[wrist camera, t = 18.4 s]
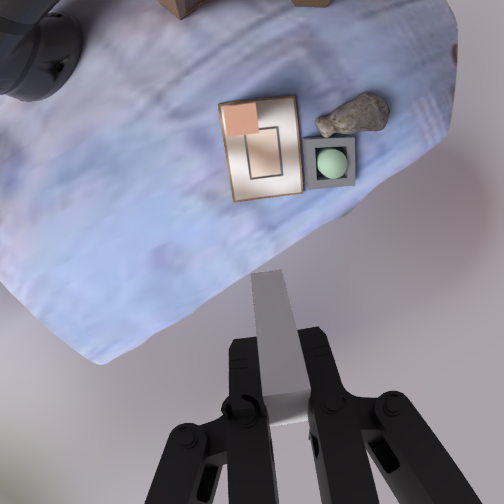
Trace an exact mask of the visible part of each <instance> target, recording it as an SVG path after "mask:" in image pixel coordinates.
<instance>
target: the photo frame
mask: <svg viewBox="0 0 504 504" xmlns="http://www.w3.org/2000/svg"><path fill="white" fill-rule="evenodd" d="M158 1H159V3H160V4H161V5H163V6H164V7H165V8H166V9H168V10H169V11H170V12H171V13H172V14H174V15H175V16H176V17H177V18H178V19H179V20H181V19H182V18H184V17H185V16H186V15H188V14H189V13H190V12H192V11H193V10H194V9H196V8H197V7H198V6H200V5H201V4H203V3H204V2H205V1H207V0H158ZM291 1H292V2H293V4H294V5H295V6H298V7H325V8H326V7H327V5H328V4H329V2H330V1H331V0H291Z"/></svg>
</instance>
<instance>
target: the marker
mask: <svg viewBox="0 0 504 504" xmlns="http://www.w3.org/2000/svg"><path fill="white" fill-rule="evenodd" d="M223 111H224V118H225V124H226V131H227V137H233V136H240V135H247V134H255V133H259V126H258V118H257V111H256V103H249V104H241V105H233V106H227V107H223Z"/></svg>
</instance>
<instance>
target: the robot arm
mask: <svg viewBox="0 0 504 504" xmlns="http://www.w3.org/2000/svg"><path fill="white" fill-rule="evenodd" d="M59 1H60V0H0V95H3V94H5V95H8V96H10V97H13V98H16V99H19V100H21V101H25V102H31V101H38V100H42V99H45V98H47V97H49V96H51V95H52V94H54V93H55V92H56V91H57V90H58V89H60V88H61V87H62V85H63V84H64V83H65V82H66V81H67V79H68V78H69V76H70V75H71V73H72V72H73V70H74V68H75V66H76V64H77V61H78V59H79V56H80V53H81V48H82V41H83V35H82V29H81V26H80V24H79V22H78V21H77V20H76V19H75V18H74V17H72V16H70V15H67V14H64V13H59V12H54V13H48V12H49V11H50V10H51V9H52V8H53V7H54V6H55V5H56V4H57V3H58V2H59ZM47 13H48V14H47ZM251 281H252V292H253V303H254V312H255V322H256V334H257V337H249V338H241V339H234V340H233V342H232V344H231V346H230V348H229V396H228V397H227V398H226V399H225V401H224V402H223V404H222V408H221V411H222V413H223V415H222V416H221V417H220V418H218V419H216V420H214V421H211V422H208V423H205V424H202V425H199V426H198V425H196V424H194V423H184V424H180V425H178V426H177V427H175V428H174V429H173V430H172V432H171V433H170V435H169V438H168V440H167V443H166V446H165V448H164V451H163V454H162V457H161V459H160V462H159V465H158V467H157V470H156V473H155V476H154V479H153V481H152V484H151V487H150V490H149V492H148V495H147V498H146V501H145V504H212V503H213V499H214V496H215V492H216V488H217V485H218V481H219V478H220V474H221V470H222V466H223V465H224V464H227V470H228V497H229V504H279V498H278V490H277V481H276V472H275V463H274V455H273V446H272V439H271V432H270V426H275V425H283V424H290V423H296V422H302V421H307V420H309V426H310V430H309V440H310V439H311V444H312V450H313V455H314V461H315V467H316V473H317V478H318V484H319V490H320V496H321V502H322V504H379V500H378V495H377V491H376V487H375V483H374V479H373V475H372V471H371V467H370V463H369V459H368V456H367V453H366V450H367V451H368V453H369V454H370V456H371V458H372V459H373V461H374V463H375V464H376V466H377V468H378V469H379V471H380V472H381V474H382V476H383V477H384V479H385V481H386V482H387V484H388V485H389V487H390V489H391V490H392V492H393V493H394V495H395V497H396V498H397V500H398V502H399V503H400V504H482V502H481V501H480V499H479V498H478V496H477V495H476V493H475V492H474V490H473V489H472V487H471V486H470V484H469V483H468V481H467V480H466V478H465V477H464V475H463V474H462V472H461V471H460V470H459V468H458V467H457V465H456V464H455V462H454V461H453V459H452V458H451V457H450V455H449V454H448V452H447V451H446V449H445V448H444V446H443V445H442V444H441V442H440V441H439V440H438V438H437V437H436V435H435V434H434V433H433V432H432V430H431V428H430V427H429V426H428V425H427V423H426V422H425V421H424V419H423V418H422V417H421V415H420V414H419V412H418V411H417V410H416V408H415V407H414V406H413V404H412V403H411V402H410V400H409V399H408V398H407V397H406V396H405V395H404V394H403V393H401V392H398V391H388V392H385V393H383V394H382V395H381V396H379V397H378V398H365V397H356V396H354V395H352V394H350V393H349V392H347V391H346V389H345V388H344V387H343V385H342V382H341V379H340V376H339V373H338V369H337V366H336V363H335V360H334V357H333V355H332V351H331V348H330V346H329V342H328V339H327V336H326V334H325V333H324V332H323V331H322V330H321V329H320V328H319V327H312V328H306V329H301V330H297V328H296V324H295V320H294V316H293V312H292V309H291V304H290V300H289V296H288V292H287V288H286V284H285V281H284V277H283V273H282V270H275V271H269V272H261V273H254V274H251Z"/></svg>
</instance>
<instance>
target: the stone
mask: <svg viewBox="0 0 504 504" xmlns="http://www.w3.org/2000/svg"><path fill="white" fill-rule="evenodd" d="M389 113H390V110H389V107H388V104H387V102H386V101H385V100H384V99H383V98H381V97H378V96H375V95H372V94H371V93H368V92H364V93H362V94H360V95H359V96H357V97H356V98H355V99H354V100H352V101H349V102H347V103H345V104H343V105H342V106H340V107H338V108H337V109H335V110H334V111H333V112H332V113H331V114H330V115H329V116H326V117H318V118H316V119H315V123H316V126H317V128H318V130H319V132H320V133H321V135H322V136H323V137H325V138H328V137H330V136H331V135H332V134H333V133H341V134H352V133H356V132H360V131H380V130H383V129H384V127H385V126H386V123H387V120H388V115H389Z"/></svg>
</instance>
